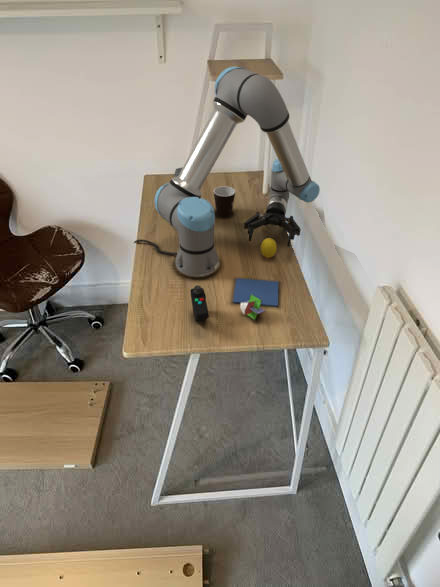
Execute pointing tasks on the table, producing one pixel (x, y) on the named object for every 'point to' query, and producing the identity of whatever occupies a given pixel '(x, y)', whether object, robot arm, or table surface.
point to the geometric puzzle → (252, 307)
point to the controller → (199, 304)
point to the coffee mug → (224, 200)
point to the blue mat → (256, 291)
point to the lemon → (268, 247)
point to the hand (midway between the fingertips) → (269, 240)
